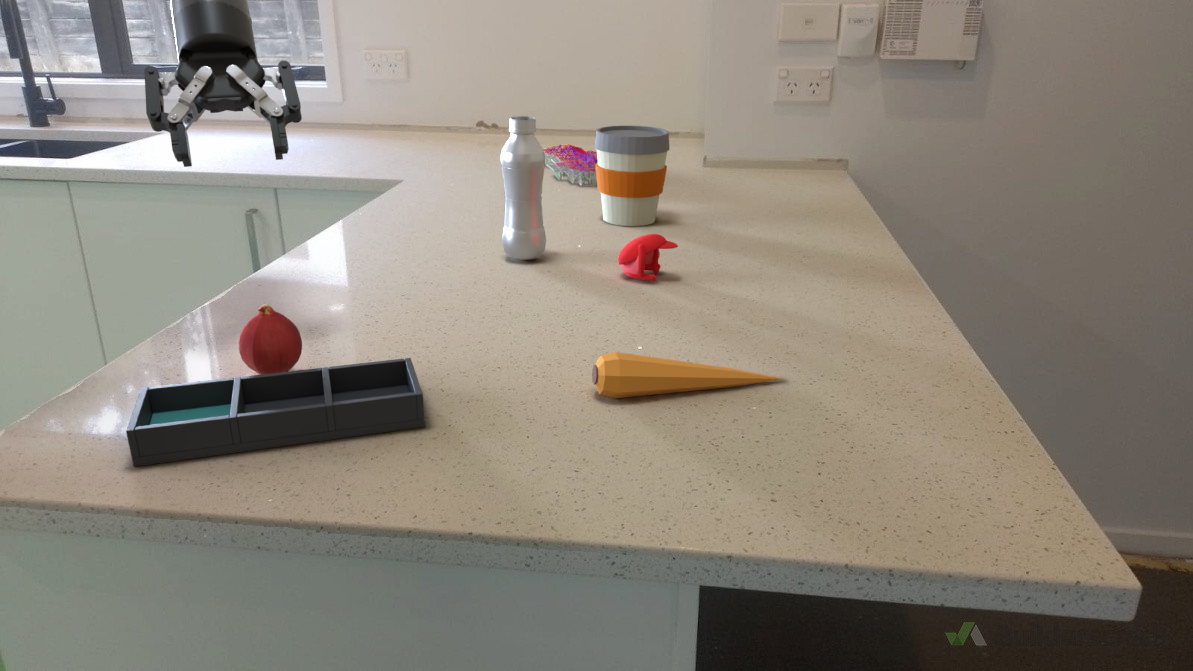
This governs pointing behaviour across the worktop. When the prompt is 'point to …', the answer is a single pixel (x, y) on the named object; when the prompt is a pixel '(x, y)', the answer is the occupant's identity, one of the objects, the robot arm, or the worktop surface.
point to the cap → (643, 256)
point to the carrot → (663, 376)
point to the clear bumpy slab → (572, 163)
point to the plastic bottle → (523, 191)
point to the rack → (273, 410)
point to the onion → (270, 342)
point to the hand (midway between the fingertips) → (233, 159)
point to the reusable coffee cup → (631, 172)
